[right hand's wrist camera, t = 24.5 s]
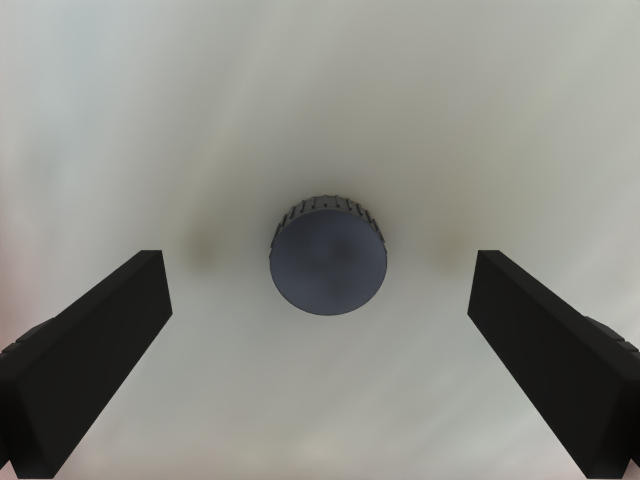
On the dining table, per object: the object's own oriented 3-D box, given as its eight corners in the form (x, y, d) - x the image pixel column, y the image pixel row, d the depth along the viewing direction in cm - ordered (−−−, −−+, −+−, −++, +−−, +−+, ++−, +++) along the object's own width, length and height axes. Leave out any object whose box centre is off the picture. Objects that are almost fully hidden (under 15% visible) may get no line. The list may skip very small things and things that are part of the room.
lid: (260, 273, 16) (252, 296, 14) (295, 177, 14) (291, 188, 12) (355, 305, 16) (359, 331, 14) (398, 217, 15) (410, 233, 13)
